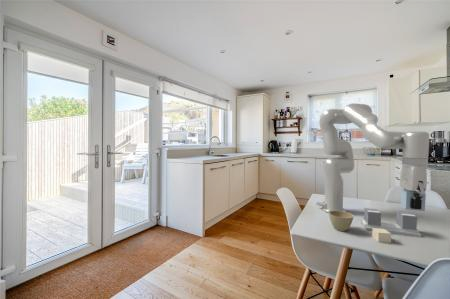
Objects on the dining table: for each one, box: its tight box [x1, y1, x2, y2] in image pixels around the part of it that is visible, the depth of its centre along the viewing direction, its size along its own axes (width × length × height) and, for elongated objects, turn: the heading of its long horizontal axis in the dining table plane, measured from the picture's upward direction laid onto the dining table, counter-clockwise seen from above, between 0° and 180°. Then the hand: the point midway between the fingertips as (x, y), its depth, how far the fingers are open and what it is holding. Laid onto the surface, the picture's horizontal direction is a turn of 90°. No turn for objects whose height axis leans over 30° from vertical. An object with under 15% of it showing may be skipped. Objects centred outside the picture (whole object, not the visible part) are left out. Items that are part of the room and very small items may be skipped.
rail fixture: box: [360, 207, 422, 238], centre depth 94 cm, size 20×9×8 cm, turn 70°
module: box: [400, 189, 427, 212], centre depth 82 cm, size 6×4×7 cm
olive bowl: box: [328, 211, 354, 232], centre depth 95 cm, size 10×10×7 cm
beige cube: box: [371, 228, 392, 244], centre depth 84 cm, size 4×4×4 cm
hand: (412, 206), depth 82 cm, fingers closed on module, 4 cm apart
